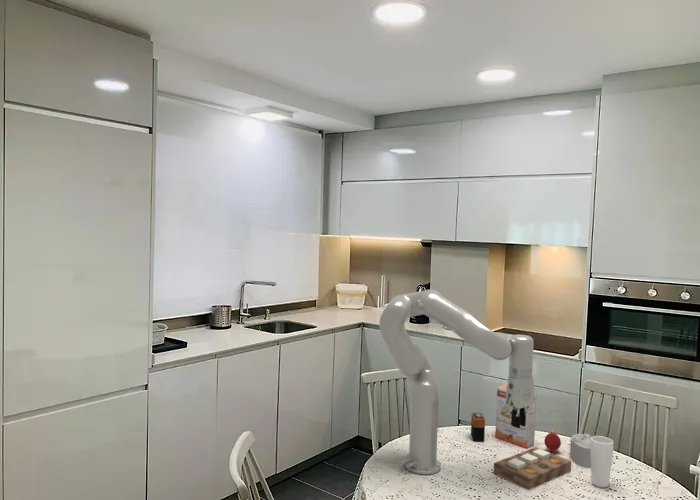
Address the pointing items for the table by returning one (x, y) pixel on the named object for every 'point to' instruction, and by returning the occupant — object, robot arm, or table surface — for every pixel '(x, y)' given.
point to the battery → (477, 427)
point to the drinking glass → (601, 460)
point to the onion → (552, 441)
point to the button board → (533, 470)
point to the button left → (516, 464)
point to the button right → (541, 454)
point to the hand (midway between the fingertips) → (518, 425)
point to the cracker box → (503, 422)
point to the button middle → (529, 459)
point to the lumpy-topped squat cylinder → (581, 450)
